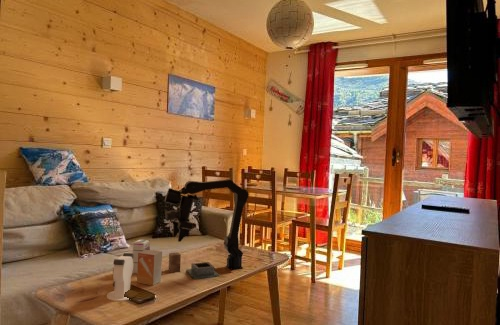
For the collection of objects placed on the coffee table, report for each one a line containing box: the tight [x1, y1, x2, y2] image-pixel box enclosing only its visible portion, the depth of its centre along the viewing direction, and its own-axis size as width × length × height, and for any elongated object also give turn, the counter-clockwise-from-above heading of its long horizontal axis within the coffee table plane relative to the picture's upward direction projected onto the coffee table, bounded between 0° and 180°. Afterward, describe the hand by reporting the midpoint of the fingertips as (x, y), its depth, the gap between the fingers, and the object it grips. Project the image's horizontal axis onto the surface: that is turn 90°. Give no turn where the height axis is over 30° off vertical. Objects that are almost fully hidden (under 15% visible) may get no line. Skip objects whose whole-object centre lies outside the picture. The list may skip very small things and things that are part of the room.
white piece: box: [106, 252, 134, 302], centre depth 141 cm, size 12×11×15 cm
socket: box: [186, 261, 220, 280], centre depth 170 cm, size 12×12×4 cm
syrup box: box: [132, 239, 151, 274], centre depth 169 cm, size 6×6×14 cm
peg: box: [168, 251, 182, 273], centre depth 173 cm, size 4×4×8 cm
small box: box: [136, 249, 163, 286], centre depth 156 cm, size 8×6×13 cm
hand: (176, 239), depth 172 cm, fingers open, 9 cm apart
